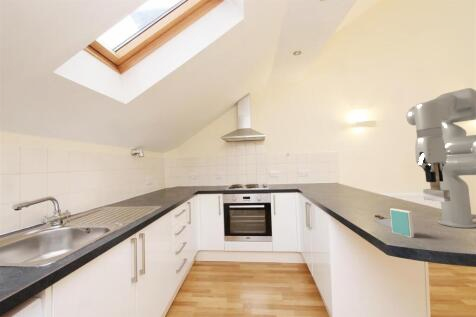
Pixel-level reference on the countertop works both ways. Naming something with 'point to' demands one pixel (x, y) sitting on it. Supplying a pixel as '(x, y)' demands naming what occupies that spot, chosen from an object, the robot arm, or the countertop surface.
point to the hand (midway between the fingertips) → (434, 181)
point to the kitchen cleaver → (383, 221)
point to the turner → (436, 189)
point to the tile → (402, 222)
